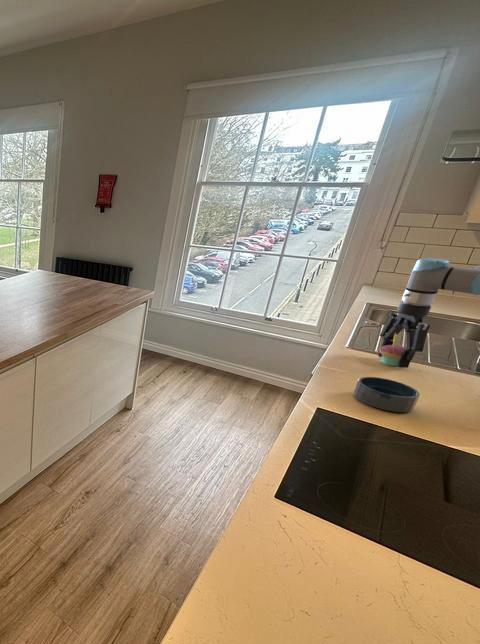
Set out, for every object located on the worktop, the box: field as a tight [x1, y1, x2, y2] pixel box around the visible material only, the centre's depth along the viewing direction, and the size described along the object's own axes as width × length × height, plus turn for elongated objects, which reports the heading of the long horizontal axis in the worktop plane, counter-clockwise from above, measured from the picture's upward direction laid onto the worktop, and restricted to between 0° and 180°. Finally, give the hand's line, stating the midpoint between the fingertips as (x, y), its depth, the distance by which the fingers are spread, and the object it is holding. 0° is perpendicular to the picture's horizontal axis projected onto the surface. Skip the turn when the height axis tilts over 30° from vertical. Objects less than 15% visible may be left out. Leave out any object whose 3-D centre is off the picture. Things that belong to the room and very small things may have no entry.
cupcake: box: [379, 332, 407, 367], centre depth 146 cm, size 9×8×12 cm
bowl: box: [353, 376, 421, 413], centre depth 122 cm, size 13×13×6 cm
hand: (392, 361), depth 147 cm, fingers closed on cupcake, 8 cm apart
